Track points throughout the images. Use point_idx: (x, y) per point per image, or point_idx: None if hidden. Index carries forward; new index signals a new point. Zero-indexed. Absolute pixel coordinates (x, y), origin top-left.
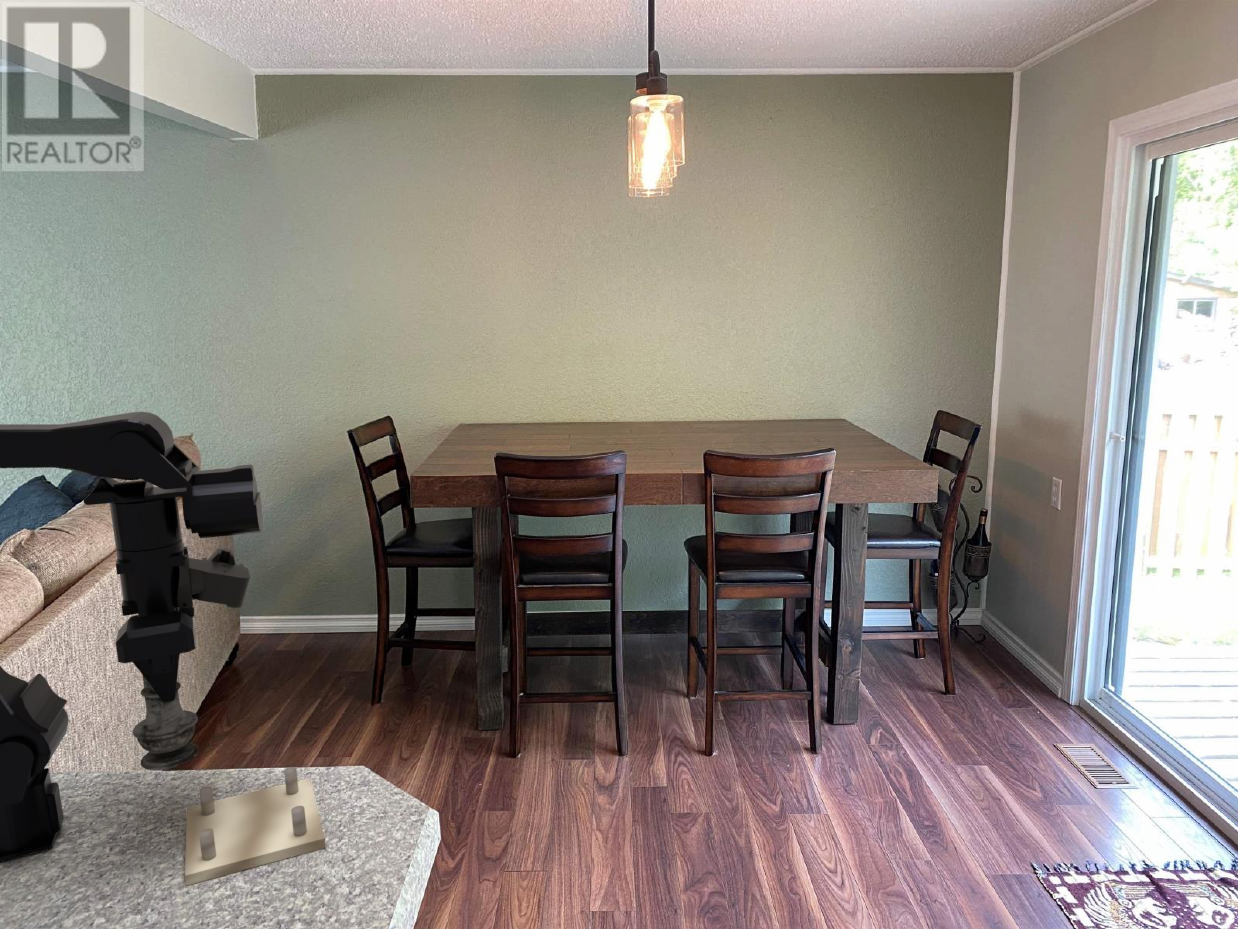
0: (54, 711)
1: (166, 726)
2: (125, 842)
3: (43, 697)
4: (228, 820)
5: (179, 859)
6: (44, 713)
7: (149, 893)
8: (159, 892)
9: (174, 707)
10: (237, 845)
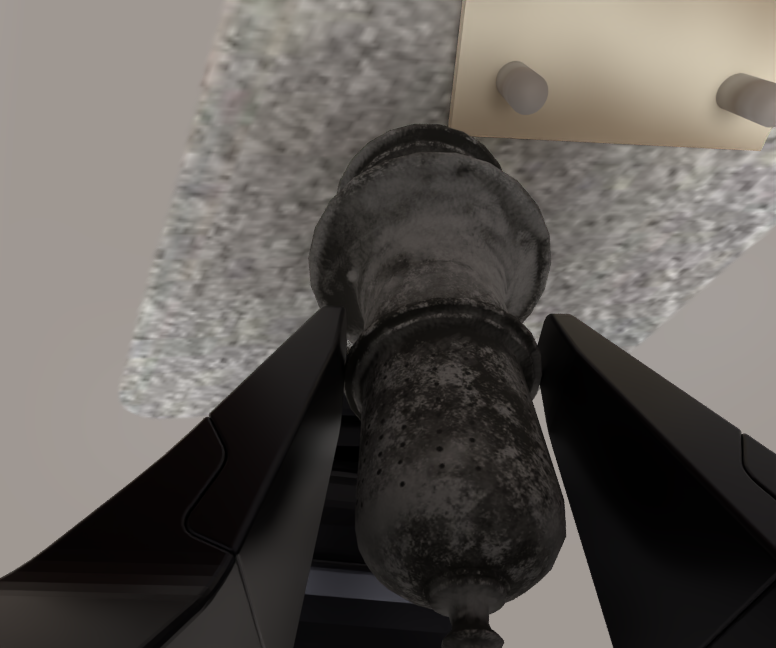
0: (360, 584)
1: (515, 284)
2: None
3: (330, 642)
4: (598, 25)
5: (626, 153)
6: (397, 610)
7: (702, 211)
8: (716, 194)
9: (492, 283)
10: (747, 9)
